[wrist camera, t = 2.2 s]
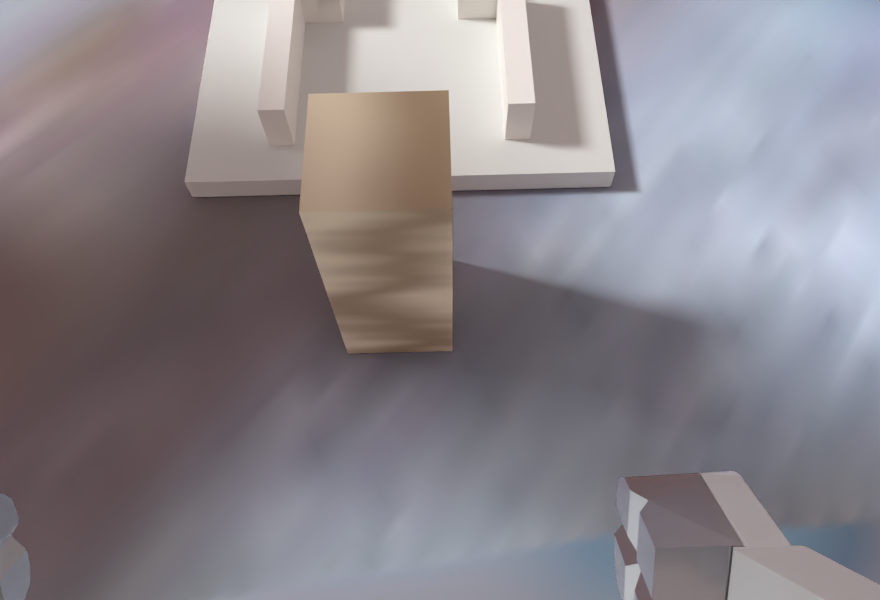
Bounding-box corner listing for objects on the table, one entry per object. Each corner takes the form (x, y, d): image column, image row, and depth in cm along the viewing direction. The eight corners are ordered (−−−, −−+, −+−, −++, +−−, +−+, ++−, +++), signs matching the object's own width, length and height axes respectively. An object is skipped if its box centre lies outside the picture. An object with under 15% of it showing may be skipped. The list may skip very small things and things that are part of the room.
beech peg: (347, 353, 31) (298, 212, 21) (351, 261, 33) (308, 93, 23) (452, 350, 31) (452, 208, 21) (450, 259, 33) (448, 90, 23)
